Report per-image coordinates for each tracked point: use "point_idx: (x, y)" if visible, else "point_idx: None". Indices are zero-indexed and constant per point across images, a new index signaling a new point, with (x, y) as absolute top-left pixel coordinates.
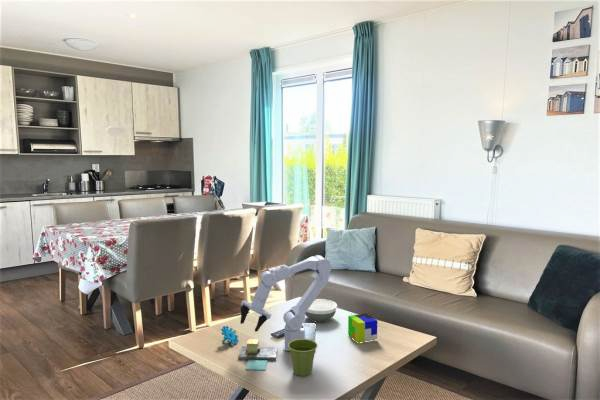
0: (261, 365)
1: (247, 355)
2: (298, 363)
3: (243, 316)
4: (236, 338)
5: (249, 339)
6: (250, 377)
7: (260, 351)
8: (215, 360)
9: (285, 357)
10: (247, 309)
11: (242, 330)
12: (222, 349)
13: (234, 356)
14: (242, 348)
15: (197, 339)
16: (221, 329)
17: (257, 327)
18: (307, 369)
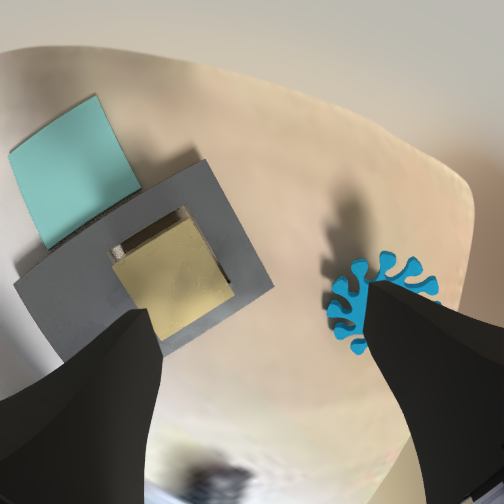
0: (40, 176)
1: (162, 202)
2: None
3: (433, 337)
4: (349, 332)
5: (223, 297)
6: (47, 67)
7: (128, 298)
8: (300, 108)
9: (12, 337)
10: (474, 468)
11: (367, 410)
12: (346, 221)
13: (247, 187)
14: (254, 265)
15: (447, 241)
16: (435, 277)
17: (96, 338)
18: None
